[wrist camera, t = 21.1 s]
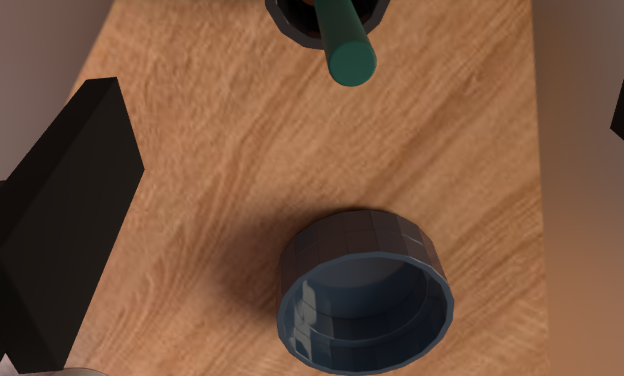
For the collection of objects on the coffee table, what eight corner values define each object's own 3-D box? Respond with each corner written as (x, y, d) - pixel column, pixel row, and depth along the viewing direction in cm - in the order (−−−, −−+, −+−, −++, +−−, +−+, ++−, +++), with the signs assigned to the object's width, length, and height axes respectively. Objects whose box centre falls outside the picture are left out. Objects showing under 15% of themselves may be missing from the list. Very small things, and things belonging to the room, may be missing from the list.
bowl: (440, 198, 44) (461, 243, 39) (431, 318, 53) (447, 368, 48) (267, 214, 44) (266, 261, 39) (285, 331, 52) (286, 383, 47)
